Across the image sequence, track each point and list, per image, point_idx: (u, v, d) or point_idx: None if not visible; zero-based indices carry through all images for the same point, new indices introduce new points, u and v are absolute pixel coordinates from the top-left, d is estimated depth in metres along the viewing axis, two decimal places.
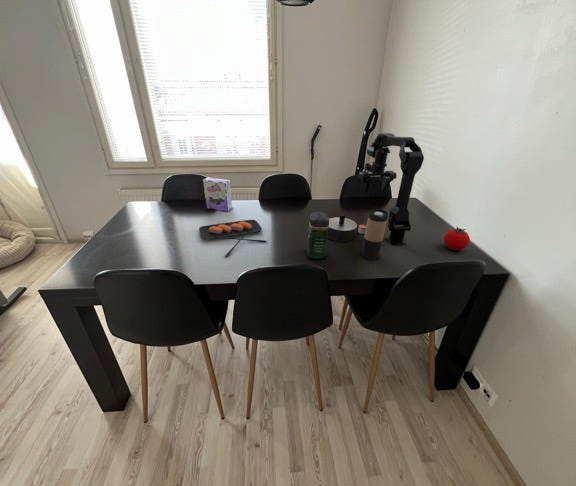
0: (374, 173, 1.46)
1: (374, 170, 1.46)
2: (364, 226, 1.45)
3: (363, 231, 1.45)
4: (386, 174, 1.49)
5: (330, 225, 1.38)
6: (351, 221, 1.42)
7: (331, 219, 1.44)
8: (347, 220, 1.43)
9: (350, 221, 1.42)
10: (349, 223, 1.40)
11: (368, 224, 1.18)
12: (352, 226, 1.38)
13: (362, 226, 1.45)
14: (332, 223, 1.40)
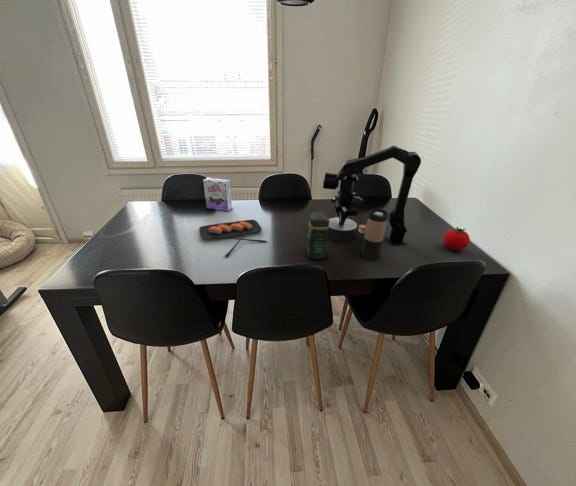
0: None
1: None
2: (364, 226, 1.45)
3: (363, 231, 1.45)
4: None
5: (330, 225, 1.38)
6: (351, 221, 1.42)
7: (331, 219, 1.44)
8: (347, 220, 1.43)
9: (350, 221, 1.42)
10: (349, 223, 1.40)
11: (368, 224, 1.18)
12: (352, 226, 1.38)
13: (362, 226, 1.45)
14: (332, 223, 1.40)
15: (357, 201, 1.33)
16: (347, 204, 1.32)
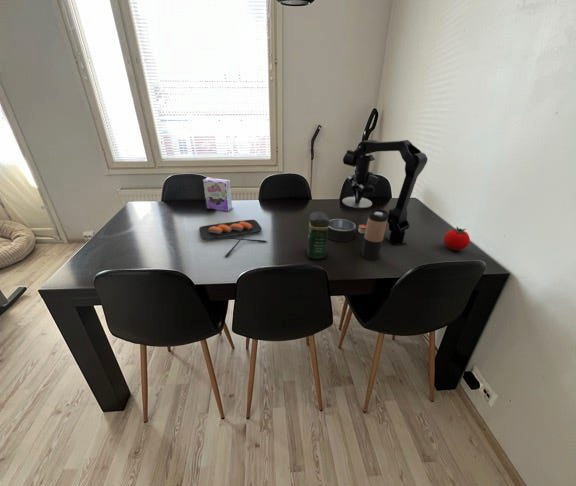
0: None
1: None
2: (364, 226, 1.45)
3: (363, 231, 1.45)
4: None
5: (347, 203, 1.46)
6: (366, 200, 1.50)
7: (347, 198, 1.52)
8: (362, 199, 1.51)
9: (366, 200, 1.50)
10: (364, 201, 1.48)
11: (368, 224, 1.18)
12: (367, 204, 1.46)
13: (362, 226, 1.45)
14: (349, 201, 1.47)
15: (373, 179, 1.40)
16: (363, 182, 1.40)
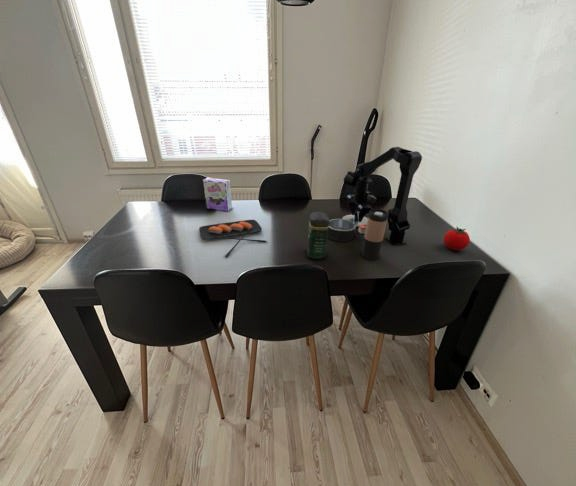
0: None
1: None
2: (364, 226, 1.45)
3: (363, 231, 1.45)
4: None
5: None
6: (365, 218, 1.58)
7: (346, 216, 1.60)
8: None
9: (364, 218, 1.58)
10: (363, 220, 1.56)
11: (368, 224, 1.18)
12: (366, 222, 1.54)
13: (362, 226, 1.45)
14: None
15: (371, 199, 1.48)
16: (362, 202, 1.48)
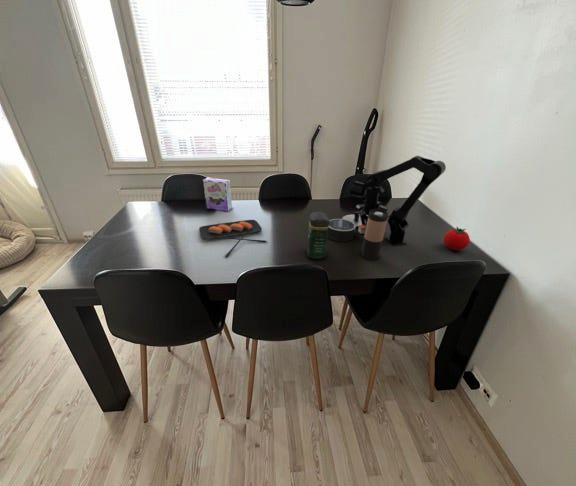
0: None
1: None
2: (364, 226, 1.45)
3: (363, 231, 1.45)
4: None
5: None
6: None
7: (346, 216, 1.60)
8: None
9: None
10: None
11: (368, 224, 1.18)
12: None
13: (362, 226, 1.45)
14: None
15: None
16: None
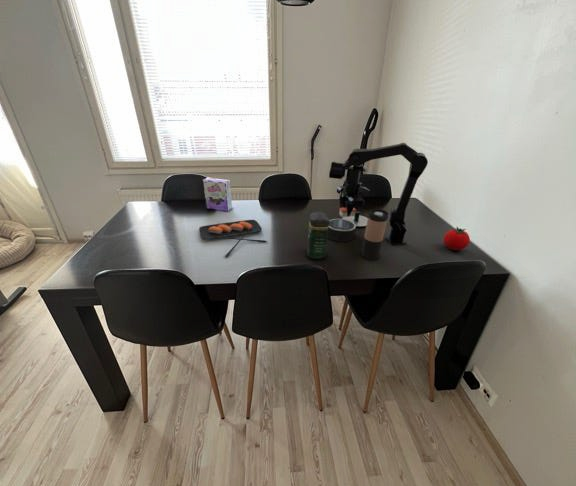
0: None
1: None
2: (345, 209, 1.36)
3: (344, 214, 1.36)
4: None
5: None
6: (365, 218, 1.58)
7: None
8: (361, 217, 1.59)
9: (364, 218, 1.58)
10: (363, 220, 1.56)
11: (368, 224, 1.18)
12: (366, 222, 1.54)
13: (343, 209, 1.36)
14: None
15: (363, 191, 1.31)
16: (353, 194, 1.30)
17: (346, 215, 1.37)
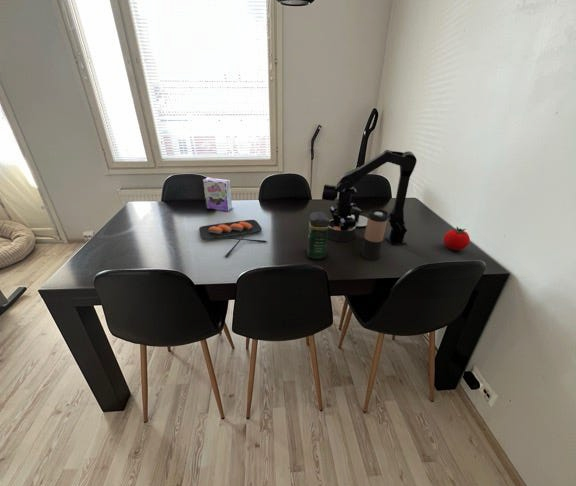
0: None
1: None
2: (338, 228, 1.41)
3: None
4: None
5: None
6: (365, 218, 1.58)
7: None
8: (361, 217, 1.59)
9: (364, 218, 1.58)
10: (363, 220, 1.56)
11: (368, 224, 1.18)
12: (366, 222, 1.54)
13: (336, 228, 1.41)
14: None
15: (355, 212, 1.36)
16: (345, 215, 1.35)
17: None
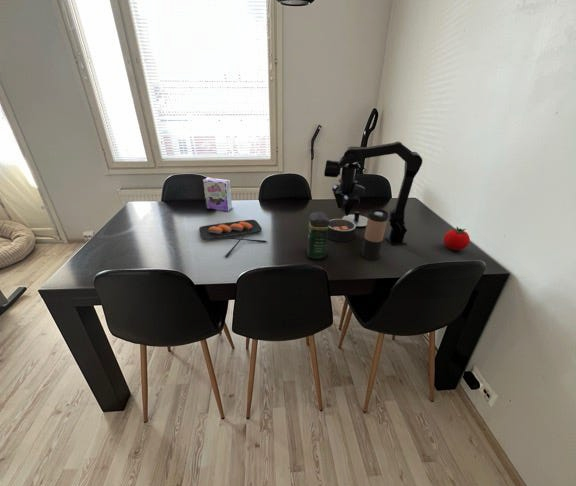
0: None
1: None
2: (338, 228, 1.41)
3: None
4: None
5: None
6: (365, 218, 1.58)
7: (346, 216, 1.60)
8: (361, 217, 1.59)
9: (364, 218, 1.58)
10: (363, 220, 1.56)
11: (368, 224, 1.18)
12: (366, 222, 1.54)
13: (336, 228, 1.41)
14: None
15: (359, 189, 1.30)
16: (349, 192, 1.29)
17: None
